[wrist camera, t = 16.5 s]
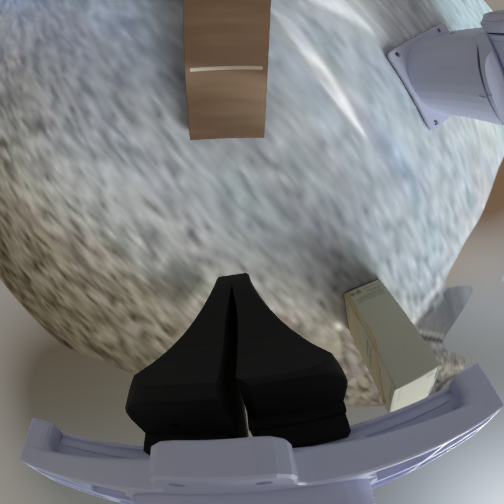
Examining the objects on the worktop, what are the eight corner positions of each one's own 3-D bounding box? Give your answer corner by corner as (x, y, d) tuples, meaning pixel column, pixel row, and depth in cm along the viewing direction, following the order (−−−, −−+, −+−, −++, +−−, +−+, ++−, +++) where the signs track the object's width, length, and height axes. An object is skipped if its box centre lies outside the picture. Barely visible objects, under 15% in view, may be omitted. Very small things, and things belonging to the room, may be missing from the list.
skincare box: (342, 292, 26) (392, 389, 16) (380, 276, 26) (442, 363, 15) (348, 331, 29) (387, 418, 19) (382, 317, 29) (429, 398, 18)
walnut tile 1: (192, 131, 18) (187, 1, 11) (261, 129, 19) (267, -1, 11) (190, 140, 17) (183, -2, 10) (264, 137, 17) (270, -4, 10)
